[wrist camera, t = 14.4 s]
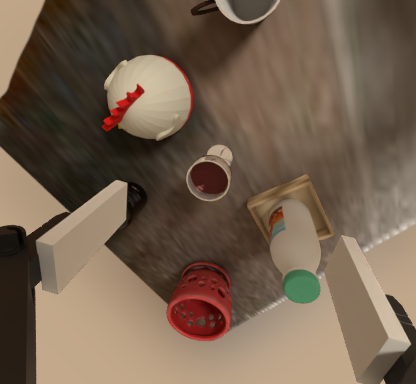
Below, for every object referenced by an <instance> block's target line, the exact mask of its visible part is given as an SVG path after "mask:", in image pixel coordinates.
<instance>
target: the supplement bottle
mask: <svg viewBox="0 0 416 384" xmlns="http://www.w3.org/2000/svg"><path fill="white" fill-rule="evenodd" d="M146 203H147V195H146V193H145V191H144V189H143V188H142V187H141V186H139V185H138V184H136V183H132V182H127V206H126V220H125V221H124V223H123V224H122V225H121V226H120V227H119V228H118V229H117V230H120V229H124V228H126V227H127V226H129V225H130V223H131V222H132V221H133V220H134V219H135V217H136V216H137V215H138V214H139V213H140V212H141V210H142V209H143V208H144V207H145V205H146ZM117 230H116V231H117ZM116 231H115V232H116ZM115 232H114V233H115Z"/></svg>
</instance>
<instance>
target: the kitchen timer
mask: <svg viewBox="0 0 416 384" xmlns="http://www.w3.org/2000/svg"><path fill="white" fill-rule="evenodd" d="M104 89H105V90H108V95H107V97H108V106H109V109H110V112H111V116H110V117H108V118H106V119H104V120H103V122H105V123H106V124H105V125H103V126H102V128H104V129H105V130H106V131H108V130H110V129H112V128H113V127H114V126H116V125H117V124H118V128H119V129H121V128H123V129H124V130H125V131H127V132H129V133H130V134H132V135H134V136H138V137H142V138H146V139H156V140H157V141H158V140H161V139H163V138H166V137H168V136H170V135H173V134H174V133H176V132H177V131H178V130H179V129H181V128H182V127H183V126H184V125H185V123H186V122H187V120H188V119H189V117H190V114H191V111H192V108H193V93H192V89H191V85H190V82H189V80H188V78H187V77H186V75H185V73H184V72H183V71H182V70H181V69H180V67H179V66H178V65H177V64H175V63H174V62H172V61H170V60H169V59H167V58H164V57H160V56H156V55H146V56H138V57H136V58H134V59H132V60H130V61H128V62H127V61H126V60H124V61H122V62H121V63H120V64H119V65H118V66H117V67H116V68H115V70H114V71H113V72H112V73H111V75H110V76H109V77H108V78H107V80H106V81H105V84H104Z"/></svg>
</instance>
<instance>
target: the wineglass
mask: <svg viewBox="0 0 416 384" xmlns="http://www.w3.org/2000/svg"><path fill="white" fill-rule="evenodd" d="M232 158H233V157H232V153H231V151H230V150H229V149H228V148H227V147H226V146H224V145H215V146H213V147H211V148H210V149H209V150H208V153H207V155H205V156H202V157H200V158H198V159H197V160H196V161H195V162H194V163H193V164H192V166H191V167H190V169H189V170H188V173H187V178H186V182H187V185H188V188H189V190H190V191H191V193H192V194H194V195H195V196H196V197H197V198H199V199H202V200H206V201H214V200H217V199H220V198H222V197H223V196H224V195H225V194H226V193H227V191H228V189H229V185H230V183H231V179H232V173H231V169H230V167H229V166H230V165H231V163H232Z"/></svg>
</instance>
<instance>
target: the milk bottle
mask: <svg viewBox="0 0 416 384" xmlns="http://www.w3.org/2000/svg"><path fill="white" fill-rule="evenodd" d="M269 239H270V251H271V256H272V259H273V262H274V264H275V265H276V267H277V268H278V270H279V271H280V272H281V273H282V274H283V278H282V281H283V290H284V293H285V295H286V297H287V298H288V299H290V300H291V301H293V302H296V303H309V302H312V301H314V300H315V299H317V298H318V296H319V295H320V284H319V281H318V276H317V275H316V270H317V268H318V266H319V263H320V259H321V248H320V244H319V240H318V236H317V233H316V230H315V226H314V223H313V220H312V217H311V214H310V211H309V209H308V207H307V206H306V205H305V204H304V203H302V202H301V201H298V200H295V199H284V200H281V201H279V202H277V203H276V204H275V205H274V206H273V207H272V208H271V210H270V212H269Z"/></svg>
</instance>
